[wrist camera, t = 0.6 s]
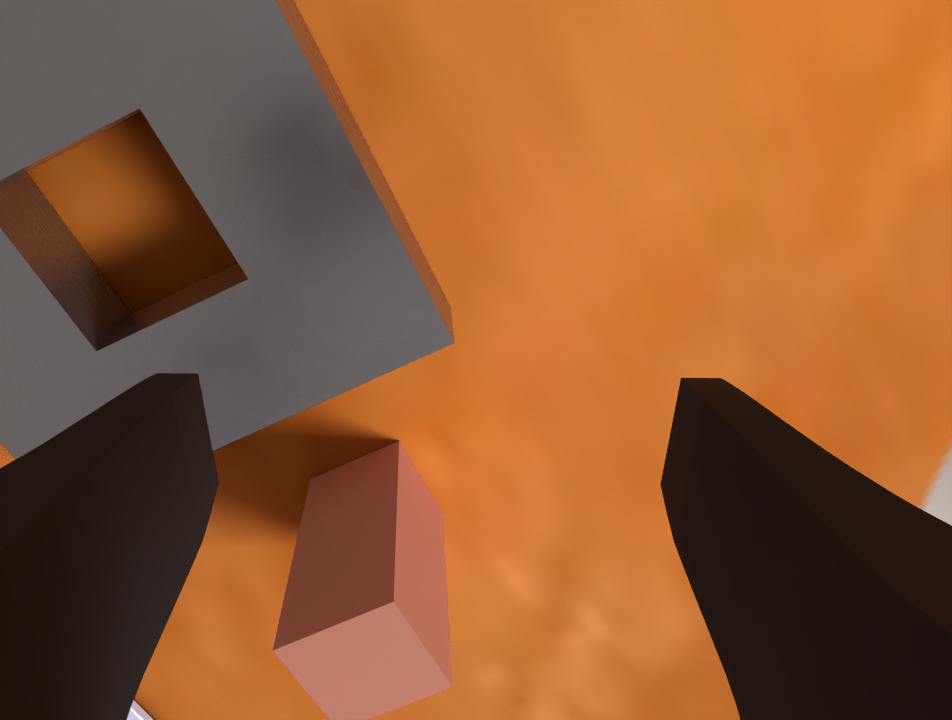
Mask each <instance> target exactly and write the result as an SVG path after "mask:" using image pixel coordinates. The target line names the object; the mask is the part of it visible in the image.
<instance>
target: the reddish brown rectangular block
mask: <svg viewBox="0 0 952 720" xmlns="http://www.w3.org/2000/svg"><path fill="white" fill-rule="evenodd" d="M273 652H274V653H275V654H276V655H277V656H278V658H279V659H280V660H281V661H282V662H283V664H284V665H285V666H286V667H287V668H288V670H289V671H290V672H291V673H292V674H293V676H294V677H295V678H296V679H297V680H298V682H299V683H300V684H301V685H302V686H303V688H304V689H305V690H306V691H307V693H308V694H309V695H310V696H311V697H312V699H313V700H314V701H315V702H316V703H317V705H318V706H319V707H320V708H321V709H322V711H323V712H324V713H325V714H326V715H327V717H328V718H329V719H330V720H368V719H370V718H373V717H376V716H378V715H381V714H383V713H386V712H389V711H391V710H394V709H396V708H399V707H401V706H404V705H407V704H409V703H412V702H414V701H417V700H420V699H422V698H425V697H427V696H430V695H433V694H435V693H438V692H440V691H443V690H446V689H448V688H451V687H452V669H451V652H450V634H449V616H448V598H447V580H446V562H445V545H444V527H443V512H442V511H441V509H440V508H439V506H438V504H437V503H436V501H435V499H434V498H433V496H432V494H431V493H430V491H429V489H428V488H427V486H426V484H425V483H424V481H423V479H422V478H421V476H420V474H419V473H418V471H417V469H416V468H415V466H414V464H413V463H412V461H411V459H410V458H409V456H408V454H407V453H406V451H405V449H404V448H403V446H402V444H401V443H400V441H397V442H394V443H392V444H390V445H388V446H385V447H383V448H381V449H378V450H376V451H374V452H371V453H369V454H367V455H365V456H362V457H360V458H358V459H355V460H353V461H351V462H348V463H346V464H344V465H342V466H339V467H337V468H335V469H332V470H330V471H328V472H325V473H323V474H321V475H318V476H316V477H314V478H312V479H310V482H309V487H308V492H307V496H306V501H305V505H304V510H303V514H302V519H301V524H300V528H299V533H298V537H297V542H296V546H295V551H294V556H293V560H292V565H291V569H290V574H289V579H288V583H287V588H286V592H285V597H284V601H283V606H282V611H281V615H280V620H279V624H278V629H277V633H276V638H275V643H274V647H273Z"/></svg>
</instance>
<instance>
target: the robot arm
mask: <svg viewBox="0 0 952 720" xmlns="http://www.w3.org/2000/svg"><path fill="white" fill-rule="evenodd" d="M218 484H219V482H218V477H217V471H216V466H215V461H214V455H213V450H212V445H211V439H210V434H209V429H208V423H207V418H206V413H205V407H204V402H203V397H202V391H201V386H200V381H199V375H198V373H156V374H154V375H152V376H150V377H148V378H146V379H144V380H143V381H141V382H139V383H137V384H136V385H134V386H132V387H131V388H129V389H128V390H126V391H124V392H123V393H121V394H120V395H118V396H117V397H115V398H113V399H112V400H110V401H109V402H107V403H106V404H104V405H103V406H101V407H99V408H98V409H96V410H95V411H93V412H92V413H90V414H89V415H87V416H85V417H84V418H82V419H81V420H79V421H78V422H76V423H74V424H73V425H71V426H70V427H68V428H67V429H65V430H63V431H62V432H60V433H59V434H57V435H56V436H54V437H53V438H51V439H49V440H48V441H46V442H45V443H43V444H41V445H40V446H38V447H36V448H35V449H33V450H31V451H29V452H28V453H26V454H24V455H23V456H21V457H19V458H17V459H16V460H14V461H12V462H11V463H9V464H7V465H6V466H4V467H2V468H0V720H153V719H152V718H151V717H150V716H149V715H148V714H147V713H146V712H145V711H144V710H143V709H142V708H141V707H140V706H139V705H138V704H137V703H136V702H135V701H134V698H135V695H136V693H137V690H138V688H139V685H140V683H141V680H142V678H143V675H144V673H145V671H146V668H147V666H148V664H149V662H150V659H151V657H152V655H153V653H154V650H155V648H156V646H157V644H158V641H159V639H160V637H161V635H162V632H163V630H164V628H165V626H166V623H167V621H168V619H169V617H170V615H171V612H172V610H173V608H174V606H175V603H176V601H177V599H178V597H179V594H180V592H181V590H182V588H183V585H184V583H185V581H186V578H187V576H188V574H189V572H190V569H191V567H192V565H193V562H194V560H195V558H196V555H197V553H198V551H199V548H200V546H201V544H202V541H203V538H204V534H205V531H206V528H207V524H208V521H209V518H210V514H211V510H212V506H213V503H214V499H215V495H216V491H217V488H218ZM661 489H662V493H663V498H664V502H665V507H666V511H667V515H668V520H669V523H670V527H671V531H672V535H673V539H674V543H675V545H676V548H677V551H678V554H679V556H680V559H681V561H682V564H683V567H684V569H685V572H686V574H687V577H688V580H689V582H690V585H691V587H692V590H693V592H694V595H695V597H696V600H697V602H698V605H699V607H700V610H701V612H702V615H703V618H704V620H705V623H706V625H707V628H708V630H709V633H710V635H711V638H712V640H713V643H714V645H715V648H716V650H717V653H718V655H719V658H720V660H721V663H722V666H723V668H724V671H725V673H726V676H727V679H728V682H729V685H730V688H731V691H732V693H733V696H734V699H735V702H736V705H737V709H738V712H739V716H740V720H952V526H951V525H949V524H947V523H946V522H943V521H942V520H940V519H938V518H936V517H934V516H932V515H931V514H929V513H927V512H925V511H923V510H921V509H919V508H917V507H916V506H914V505H912V504H910V503H909V502H907V501H905V500H904V499H902V498H900V497H898V496H897V495H895V494H893V493H892V492H890V491H888V490H887V489H885V488H884V487H882V486H880V485H879V484H877V483H876V482H874V481H872V480H871V479H869V478H867V477H866V476H864V475H863V474H861V473H859V472H858V471H856V470H855V469H853V468H852V467H850V466H848V465H847V464H845V463H844V462H842V461H841V460H839V459H838V458H836V457H835V456H833V455H832V454H830V453H829V452H827V451H826V450H825V449H823V448H822V447H820V446H819V445H817V444H816V443H814V442H813V441H811V440H810V439H809V438H807V437H806V436H804V435H803V434H801V433H800V432H799V431H797V430H796V429H794V428H793V427H792V426H790V425H789V424H787V423H786V422H785V421H783V420H782V419H780V418H779V417H778V416H776V415H775V414H773V413H772V412H771V411H769V410H768V409H766V408H765V407H764V406H762V405H761V404H759V403H758V402H757V401H755V400H754V399H752V398H751V397H750V396H748V395H747V394H745V393H744V392H742V391H741V390H739V389H738V388H736V387H735V386H733V385H732V384H730V383H728V382H727V381H725V380H723V379H722V378H681V381H680V387H679V392H678V397H677V402H676V407H675V413H674V418H673V423H672V428H671V433H670V439H669V444H668V449H667V454H666V459H665V465H664V470H663V475H662V480H661Z"/></svg>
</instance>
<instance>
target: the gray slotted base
mask: <svg viewBox="0 0 952 720" xmlns="http://www.w3.org/2000/svg"><path fill="white" fill-rule="evenodd" d="M140 112H142V113H143V115H144V116H145V118H146V119H147V121H148V123H149V124H150V126H151V127H152V129H153V130H154V132H155V133H156V135H157V137H158V138H159V140H160V141H161V143H162V144H163V146H164V148H165V149H166V151H167V152H168V154H169V155H170V157H171V159H172V160H173V162H174V163H175V165H176V166H177V168H178V170H179V171H180V173H181V174H182V176H183V177H184V179H185V181H186V182H187V184H188V185H189V187H190V188H191V190H192V191H193V193H194V195H195V196H196V198H197V199H198V201H199V202H200V204H201V206H202V207H203V209H204V210H205V212H206V213H207V215H208V217H209V218H210V220H211V221H212V223H213V224H214V226H215V228H216V229H217V231H218V232H219V234H220V235H221V237H222V239H223V240H224V242H225V243H226V245H227V246H228V248H229V249H230V251H231V253H232V254H233V256H234V257H235V259H236V260H237V262H238V263H236V264H234V265H231V266H229V267H227V268H225V269H223V270H221V271H219V272H217V273H215V274H213V275H211V276H209V277H206V278H204V279H202V280H200V281H198V282H196V283H194V284H192V285H190V286H188V287H186V288H184V289H181V290H179V291H177V292H175V293H173V294H171V295H169V296H167V297H165V298H163V299H161V300H159V301H156V302H154V303H152V304H150V305H148V306H146V307H144V308H142V309H140V310H138V311H136V312H134V313H130V312H129V311H128V309H127V308H126V307H125V305H124V304H123V303H122V301H121V300H120V299H119V297H118V296H117V294H116V293H115V292H114V290H113V289H112V288H111V286H110V285H109V284H108V282H107V281H106V279H105V278H104V277H103V275H102V274H101V273H100V271H99V270H98V269H97V267H96V266H95V265H94V263H93V262H92V260H91V259H90V258H89V256H88V255H87V254H86V252H85V251H84V250H83V248H82V247H81V245H80V244H79V243H78V241H77V240H76V239H75V237H74V236H73V235H72V233H71V232H70V231H69V229H68V228H67V226H66V225H65V224H64V222H63V221H62V220H61V218H60V217H59V216H58V214H57V213H56V211H55V210H54V209H53V207H52V206H51V205H50V203H49V202H48V201H47V199H46V198H45V196H44V195H43V194H42V192H41V191H40V190H39V188H38V187H37V186H36V184H35V183H34V182H33V180H32V179H31V177H30V176H29V175H28V173H27V172H26V171H28V170H30V169H32V168H34V167H36V166H38V165H39V164H41V163H43V162H45V161H47V160H49V159H51V158H53V157H55V156H57V155H59V154H61V153H63V152H65V151H67V150H68V149H70V148H72V147H74V146H76V145H78V144H80V143H82V142H84V141H86V140H88V139H90V138H92V137H94V136H96V135H97V134H99V133H101V132H103V131H105V130H107V129H109V128H111V127H113V126H115V125H117V124H119V123H121V122H123V121H125V120H126V119H128V118H130V117H132V116H134V115H136V114H138V113H140ZM453 343H454V334H453V326H452V317H451V308H450V306H449V304H448V302H447V300H446V298H445V296H444V294H443V292H442V290H441V288H440V286H439V284H438V282H437V280H436V278H435V276H434V274H433V272H432V270H431V268H430V266H429V264H428V262H427V261H426V259H425V257H424V255H423V253H422V251H421V249H420V247H419V245H418V243H417V241H416V239H415V237H414V235H413V233H412V231H411V229H410V227H409V225H408V223H407V221H406V219H405V217H404V216H403V214H402V212H401V210H400V208H399V206H398V204H397V202H396V200H395V198H394V196H393V194H392V192H391V190H390V188H389V186H388V184H387V182H386V180H385V178H384V176H383V174H382V172H381V170H380V169H379V167H378V165H377V163H376V161H375V159H374V157H373V155H372V153H371V151H370V149H369V147H368V145H367V143H366V141H365V139H364V137H363V135H362V133H361V131H360V129H359V127H358V125H357V123H356V122H355V120H354V118H353V116H352V114H351V112H350V110H349V108H348V106H347V104H346V102H345V100H344V98H343V96H342V94H341V92H340V90H339V88H338V86H337V84H336V82H335V80H334V78H333V76H332V75H331V73H330V71H329V69H328V67H327V65H326V63H325V61H324V59H323V57H322V55H321V53H320V51H319V49H318V47H317V45H316V43H315V41H314V39H313V37H312V35H311V33H310V31H309V29H308V28H307V26H306V24H305V22H304V20H303V18H302V16H301V14H300V12H299V10H298V8H297V6H296V4H295V2H294V0H0V442H1V443H2V444H3V446H4V447H5V448H6V449H7V450H8V451H9V452H10V453H11V454H12V455H13V457H14V458H15V459H17V458H19V457H21V456H23V455H24V454H26V453H28V452H29V451H31V450H33V449H35V448H36V447H38V446H40V445H41V444H43V443H45V442H46V441H48V440H49V439H51V438H53V437H54V436H56V435H57V434H59V433H60V432H62V431H63V430H65V429H67V428H68V427H70V426H71V425H73V424H74V423H76V422H78V421H79V420H81V419H82V418H84V417H85V416H87V415H89V414H90V413H92V412H93V411H95V410H96V409H98V408H99V407H101V406H103V405H104V404H106V403H107V402H109V401H110V400H112V399H113V398H115V397H117V396H118V395H120V394H121V393H123V392H124V391H126V390H128V389H129V388H131V387H132V386H134V385H136V384H137V383H139V382H141V381H143V380H144V379H146V378H148V377H150V376H152V375H154V374H156V373H198V375H199V381H200V386H201V391H202V397H203V402H204V407H205V413H206V418H207V423H208V429H209V434H210V439H211V445H212V450H213V451H214V450H216V449H218V448H220V447H223V446H225V445H227V444H229V443H232V442H234V441H236V440H238V439H241V438H243V437H245V436H247V435H249V434H252V433H254V432H256V431H258V430H261V429H263V428H265V427H267V426H270V425H272V424H274V423H276V422H279V421H281V420H283V419H285V418H288V417H290V416H292V415H294V414H296V413H299V412H301V411H303V410H305V409H308V408H310V407H312V406H314V405H317V404H319V403H321V402H323V401H326V400H328V399H330V398H332V397H335V396H337V395H339V394H341V393H343V392H346V391H348V390H350V389H352V388H355V387H357V386H359V385H361V384H364V383H366V382H368V381H370V380H373V379H375V378H377V377H379V376H382V375H384V374H386V373H388V372H390V371H393V370H395V369H397V368H399V367H402V366H404V365H406V364H408V363H411V362H413V361H415V360H417V359H420V358H422V357H424V356H426V355H429V354H431V353H433V352H435V351H437V350H440V349H442V348H444V347H446V346H449V345H451V344H453Z"/></svg>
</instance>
